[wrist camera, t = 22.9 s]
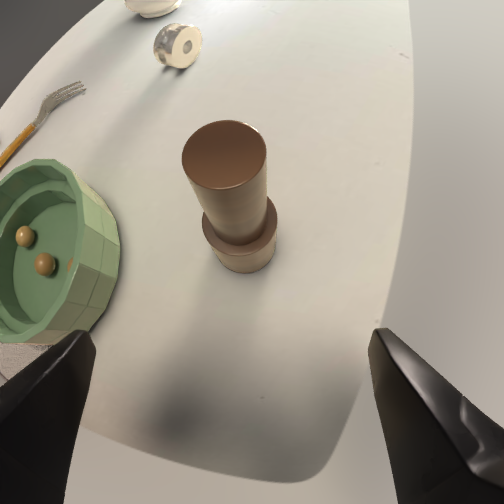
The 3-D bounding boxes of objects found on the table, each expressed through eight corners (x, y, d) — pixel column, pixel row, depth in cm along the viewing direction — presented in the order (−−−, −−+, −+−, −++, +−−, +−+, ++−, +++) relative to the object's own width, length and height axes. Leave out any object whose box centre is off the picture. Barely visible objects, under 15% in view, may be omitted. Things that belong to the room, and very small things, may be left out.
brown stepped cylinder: (280, 267, 22) (294, 193, 10) (219, 278, 22) (169, 216, 10) (269, 211, 23) (269, 101, 12) (211, 221, 23) (164, 121, 12)
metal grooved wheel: (178, 77, 28) (166, 42, 23) (157, 72, 28) (145, 39, 23) (205, 51, 29) (198, 17, 24) (184, 47, 29) (176, 15, 24)
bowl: (131, 340, 21) (89, 340, 15) (9, 346, 21) (-35, 342, 15) (123, 173, 25) (93, 135, 19) (13, 209, 25) (-23, 187, 19)
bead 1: (25, 244, 21) (30, 254, 23) (35, 225, 22) (39, 236, 24) (9, 236, 20) (15, 246, 22) (20, 218, 22) (24, 229, 23)
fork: (-31, 200, 24) (80, 79, 26) (-35, 190, 24) (74, 72, 26) (-19, 204, 27) (87, 90, 29) (-23, 195, 26) (81, 82, 29)
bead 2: (37, 254, 22) (40, 244, 21) (56, 264, 23) (60, 254, 22) (30, 274, 21) (32, 264, 20) (49, 283, 22) (52, 274, 21)
